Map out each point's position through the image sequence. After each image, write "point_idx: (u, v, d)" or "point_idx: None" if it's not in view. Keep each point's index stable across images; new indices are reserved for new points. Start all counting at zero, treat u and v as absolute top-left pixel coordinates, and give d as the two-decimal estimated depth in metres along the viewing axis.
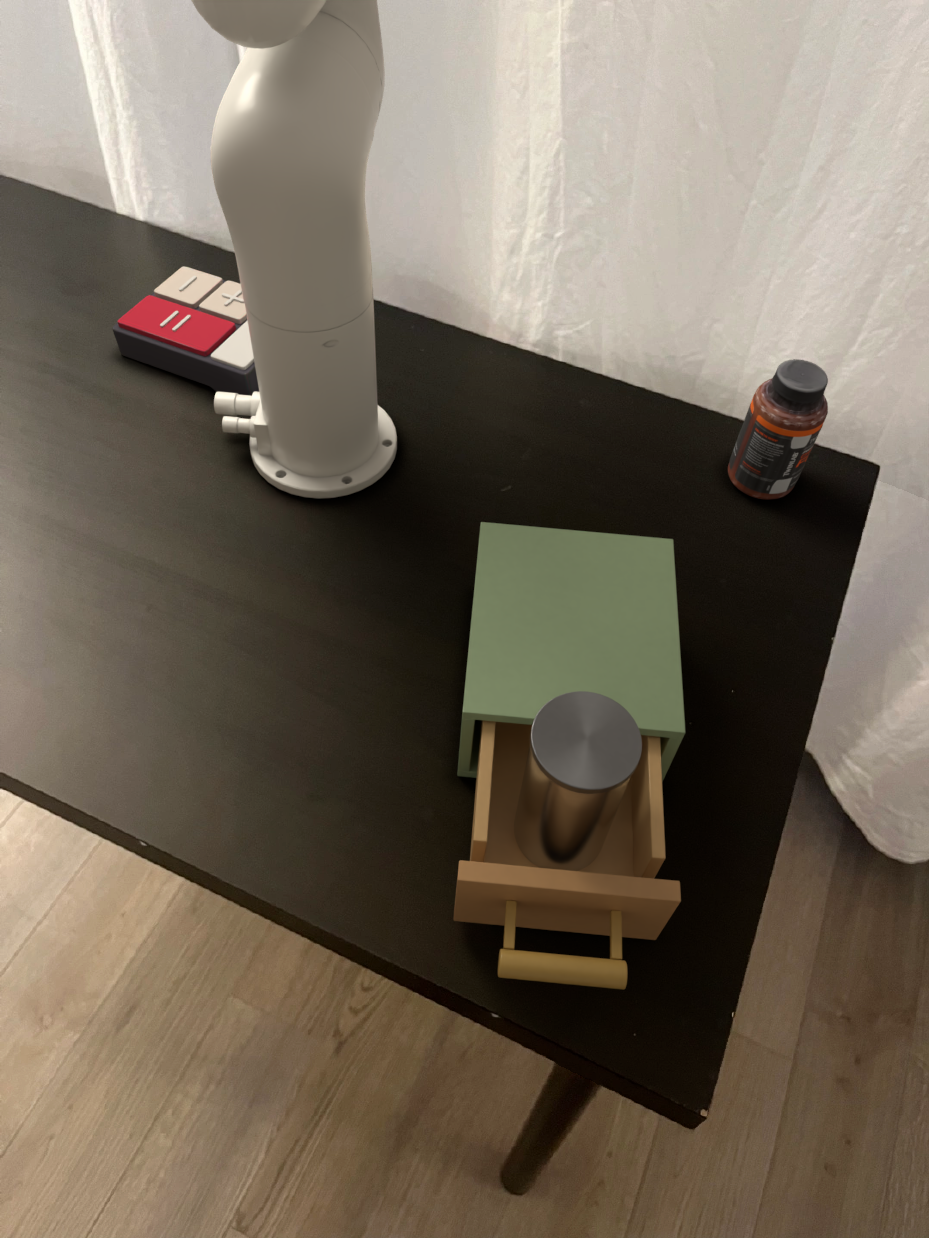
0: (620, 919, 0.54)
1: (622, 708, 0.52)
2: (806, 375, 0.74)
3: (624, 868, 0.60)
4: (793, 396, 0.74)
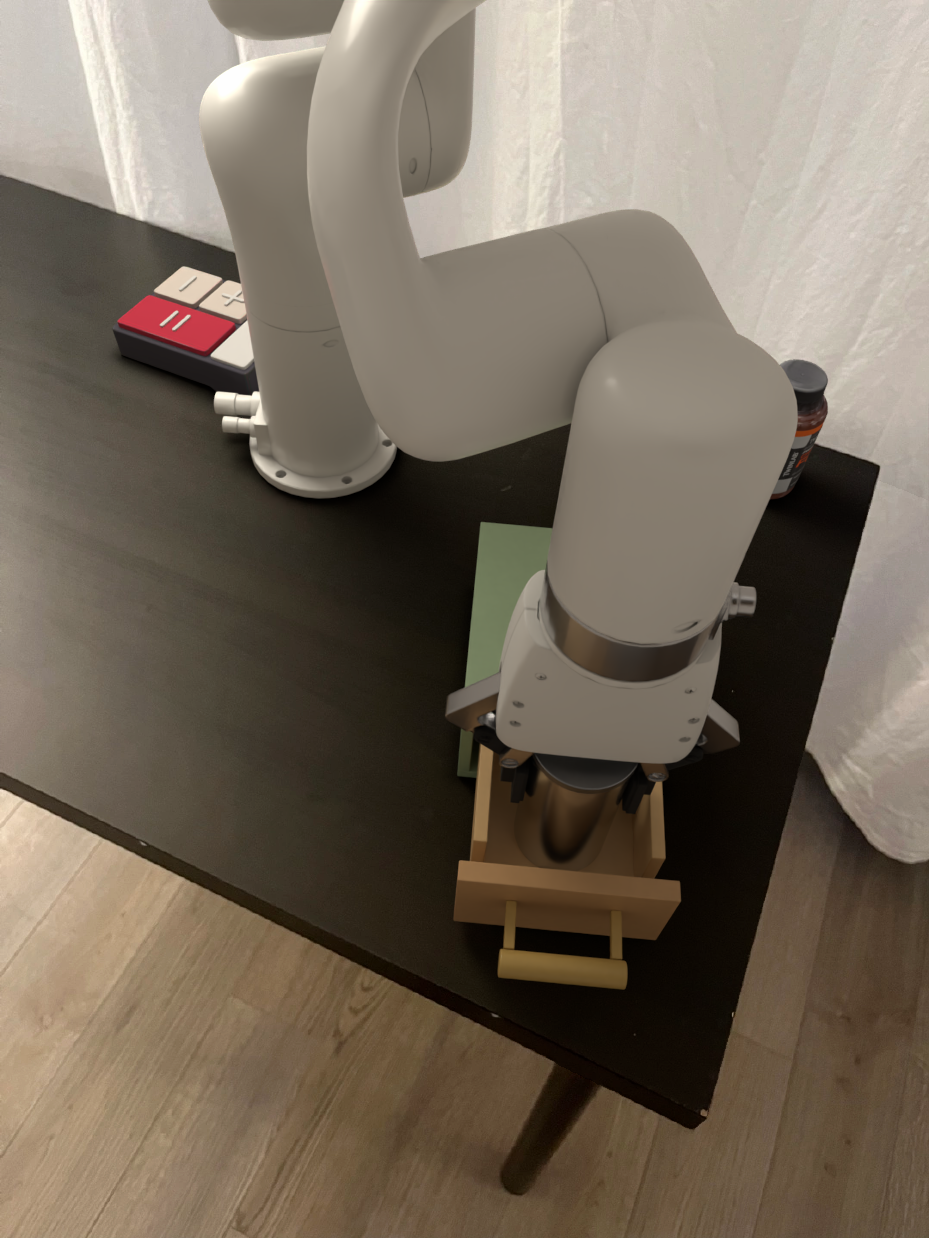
0: (620, 919, 0.54)
1: None
2: (806, 375, 0.74)
3: (624, 868, 0.60)
4: None
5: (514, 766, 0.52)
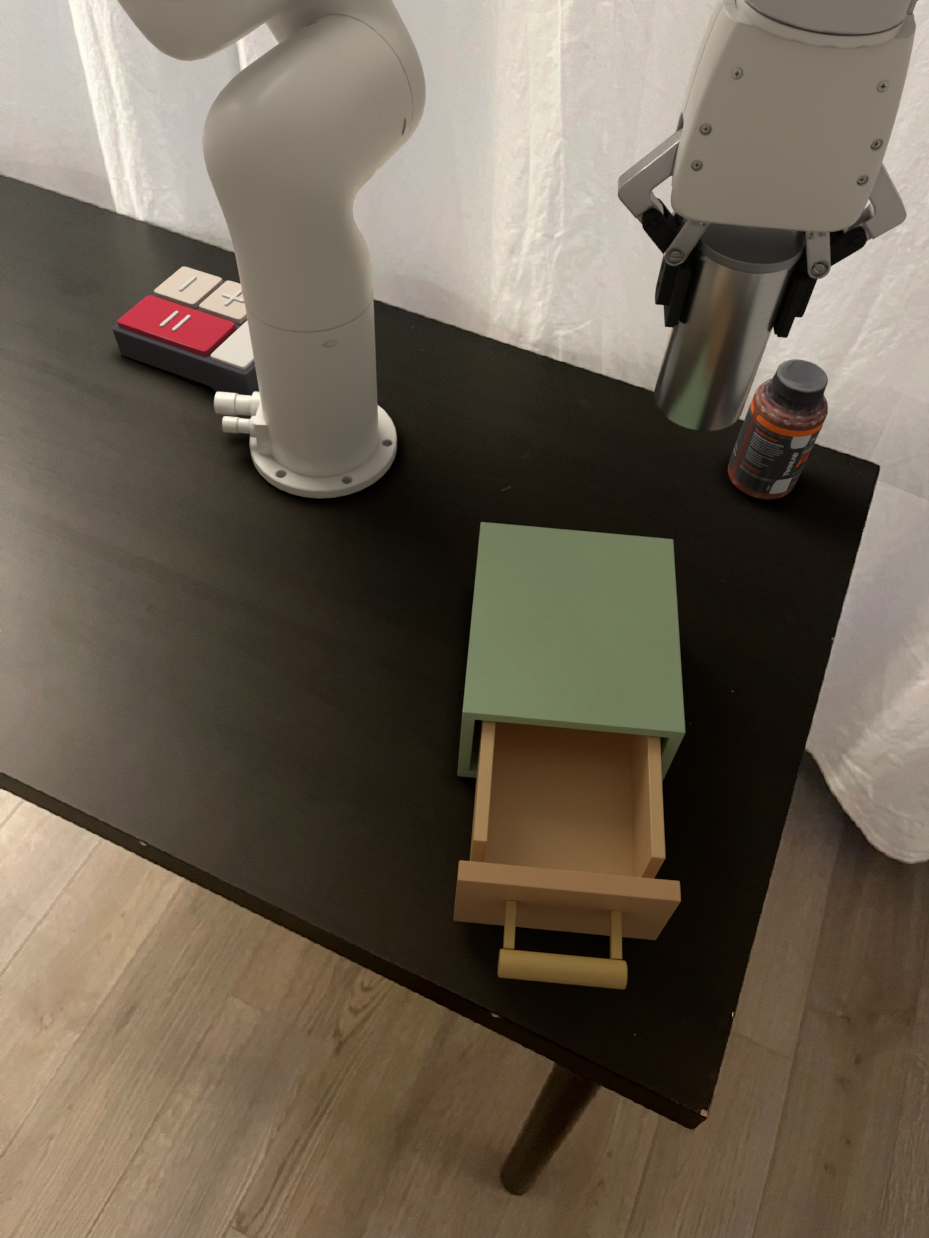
0: (620, 919, 0.54)
1: None
2: (806, 375, 0.74)
3: (624, 868, 0.60)
4: (793, 396, 0.74)
5: (678, 263, 0.53)
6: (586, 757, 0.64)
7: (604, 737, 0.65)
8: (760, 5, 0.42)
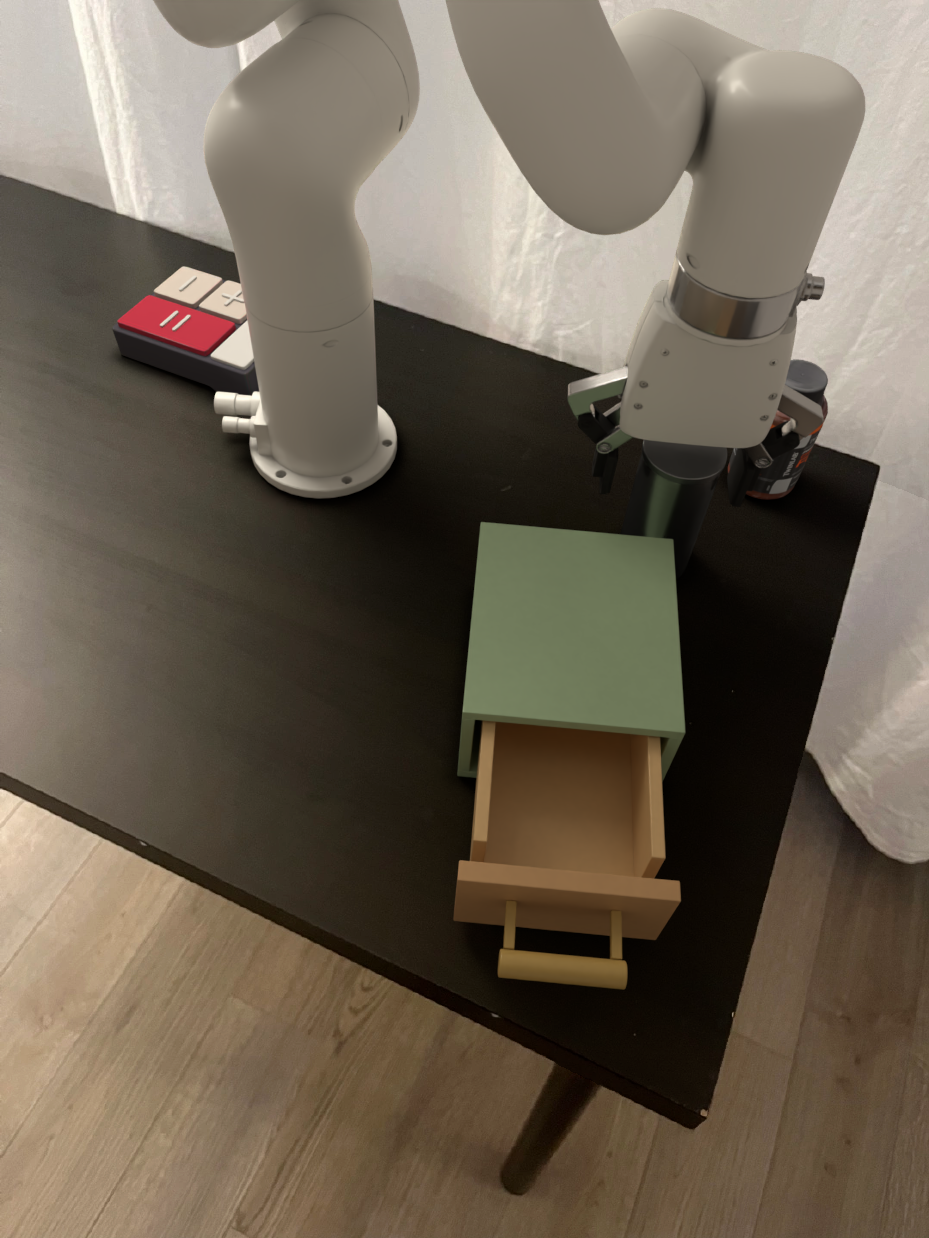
0: (620, 919, 0.54)
1: None
2: (806, 375, 0.74)
3: (624, 868, 0.60)
4: None
5: (607, 452, 0.67)
6: (586, 757, 0.64)
7: (604, 737, 0.65)
8: (679, 312, 0.56)
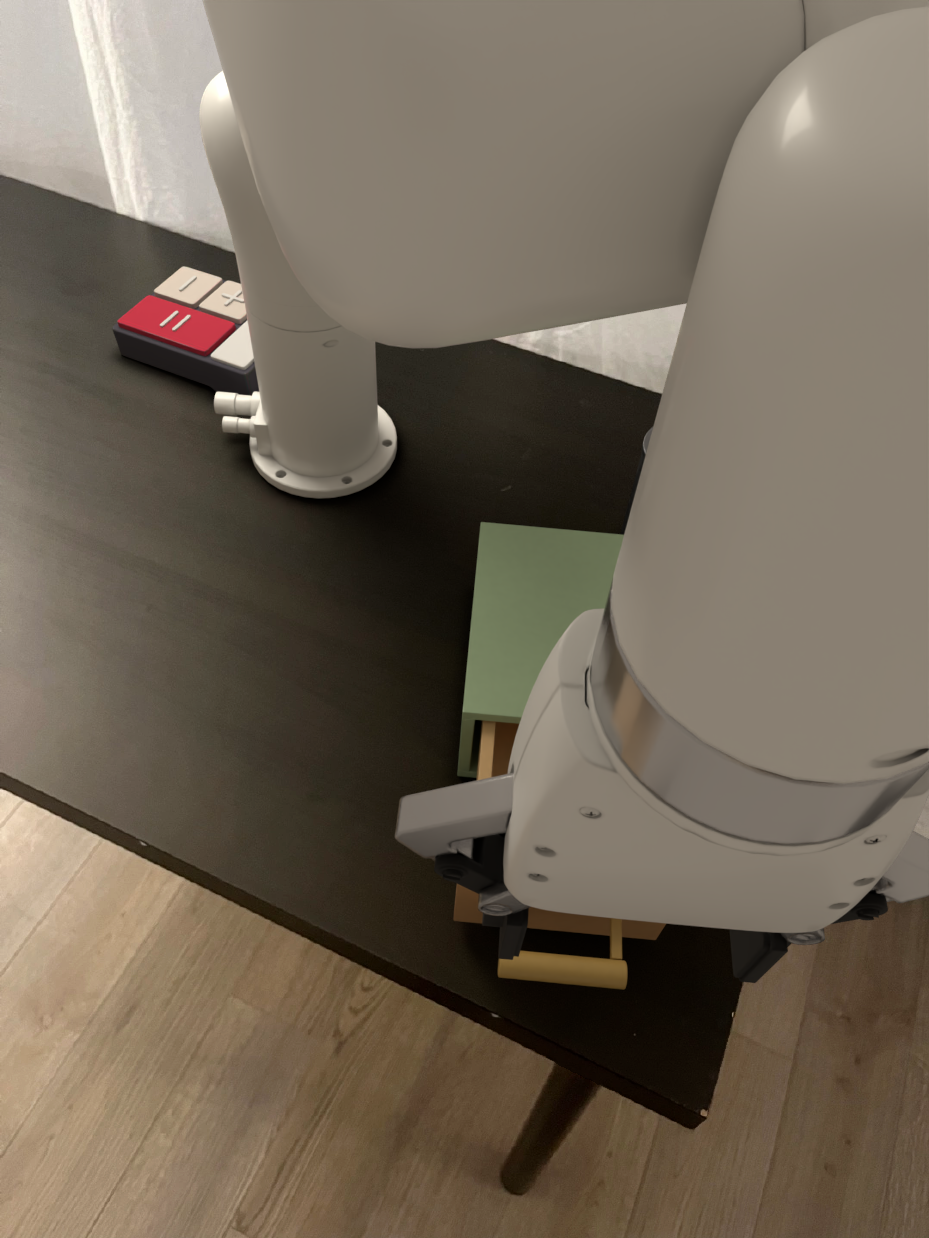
0: (620, 919, 0.54)
1: None
2: None
3: None
4: None
5: (504, 913, 0.31)
6: None
7: None
8: (622, 752, 0.20)
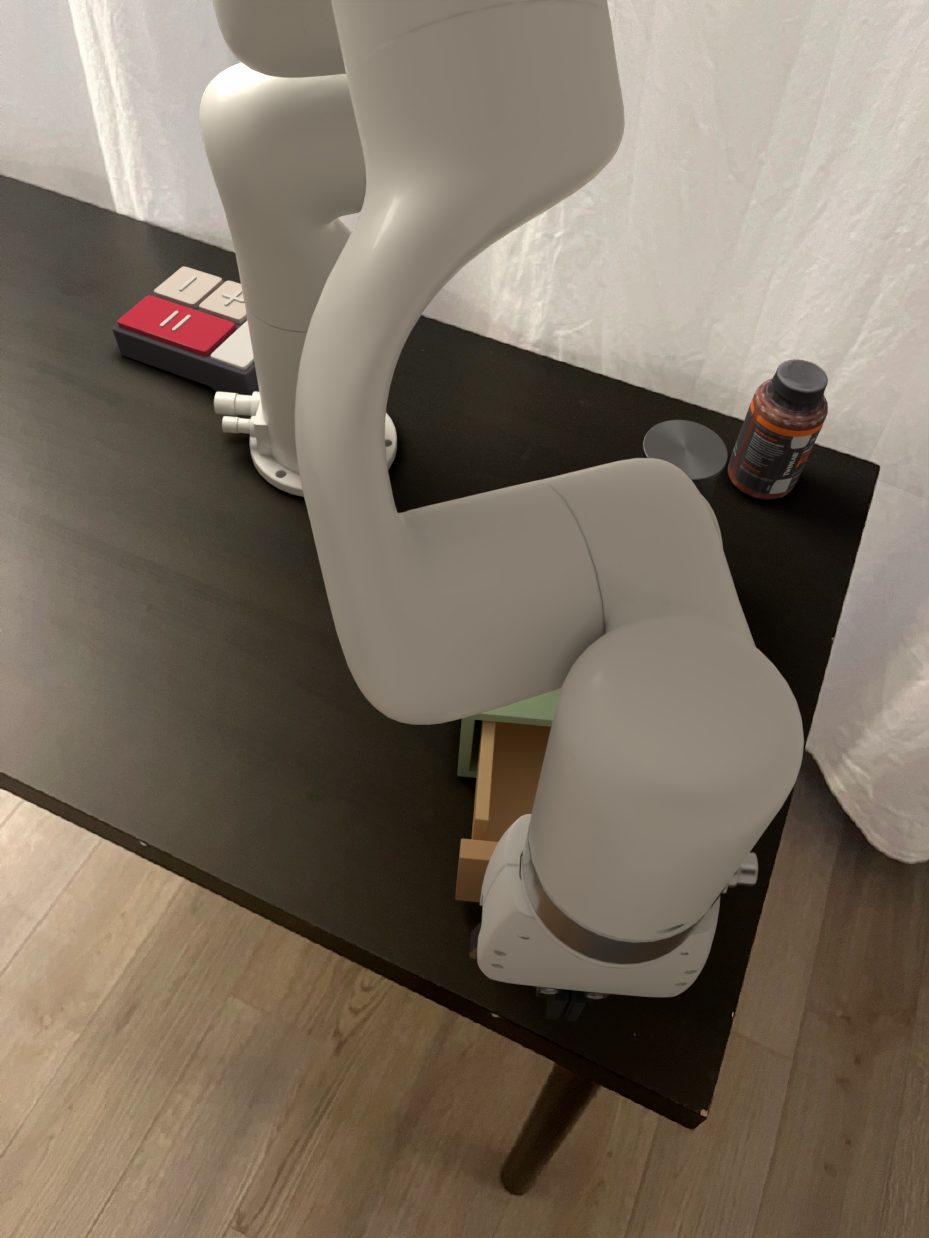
0: None
1: (710, 431, 0.69)
2: (806, 375, 0.74)
3: None
4: (793, 396, 0.74)
5: (553, 992, 0.48)
6: None
7: None
8: (537, 910, 0.37)
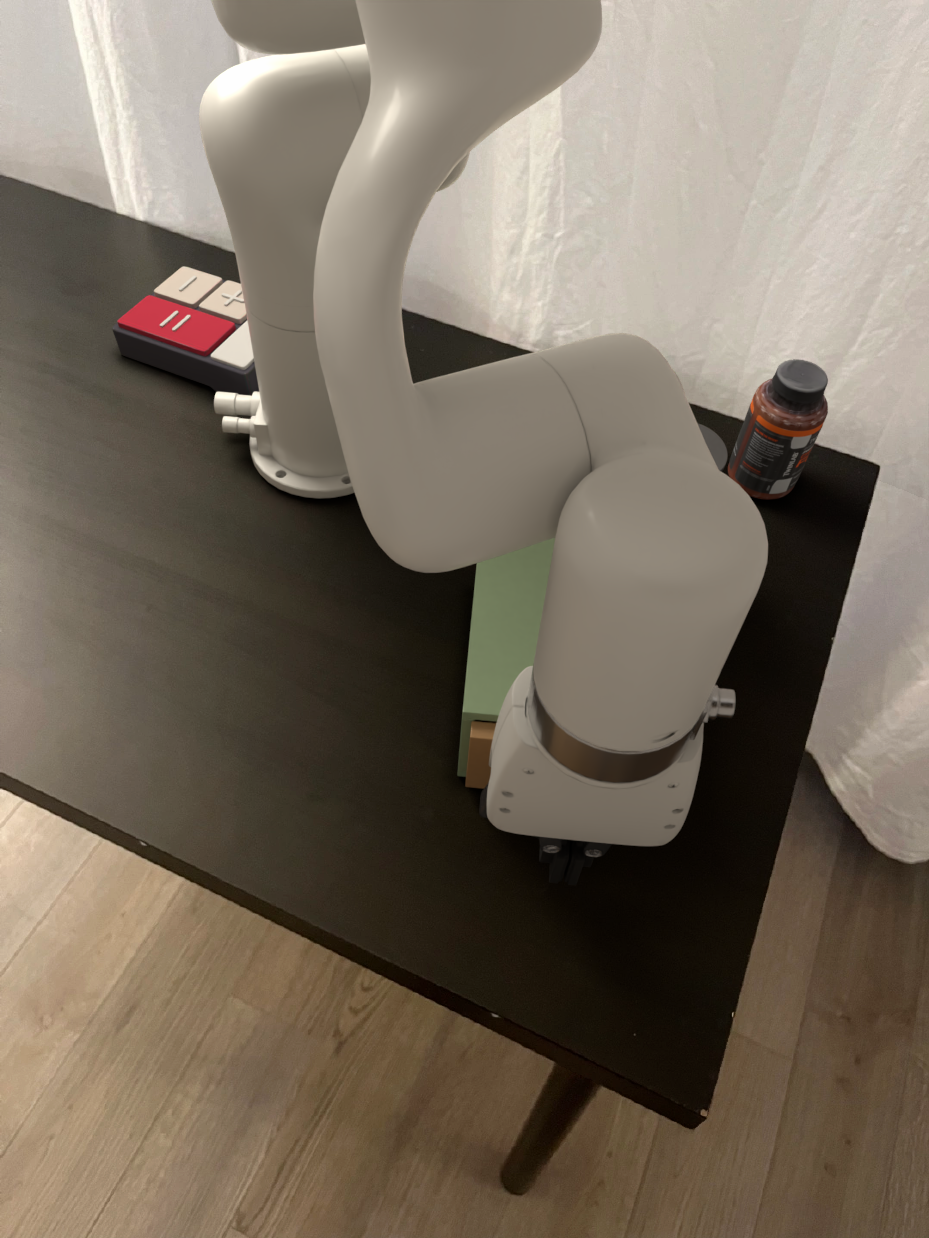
0: None
1: (710, 431, 0.69)
2: (806, 375, 0.74)
3: None
4: (793, 396, 0.74)
5: (555, 851, 0.53)
6: None
7: None
8: (540, 739, 0.42)
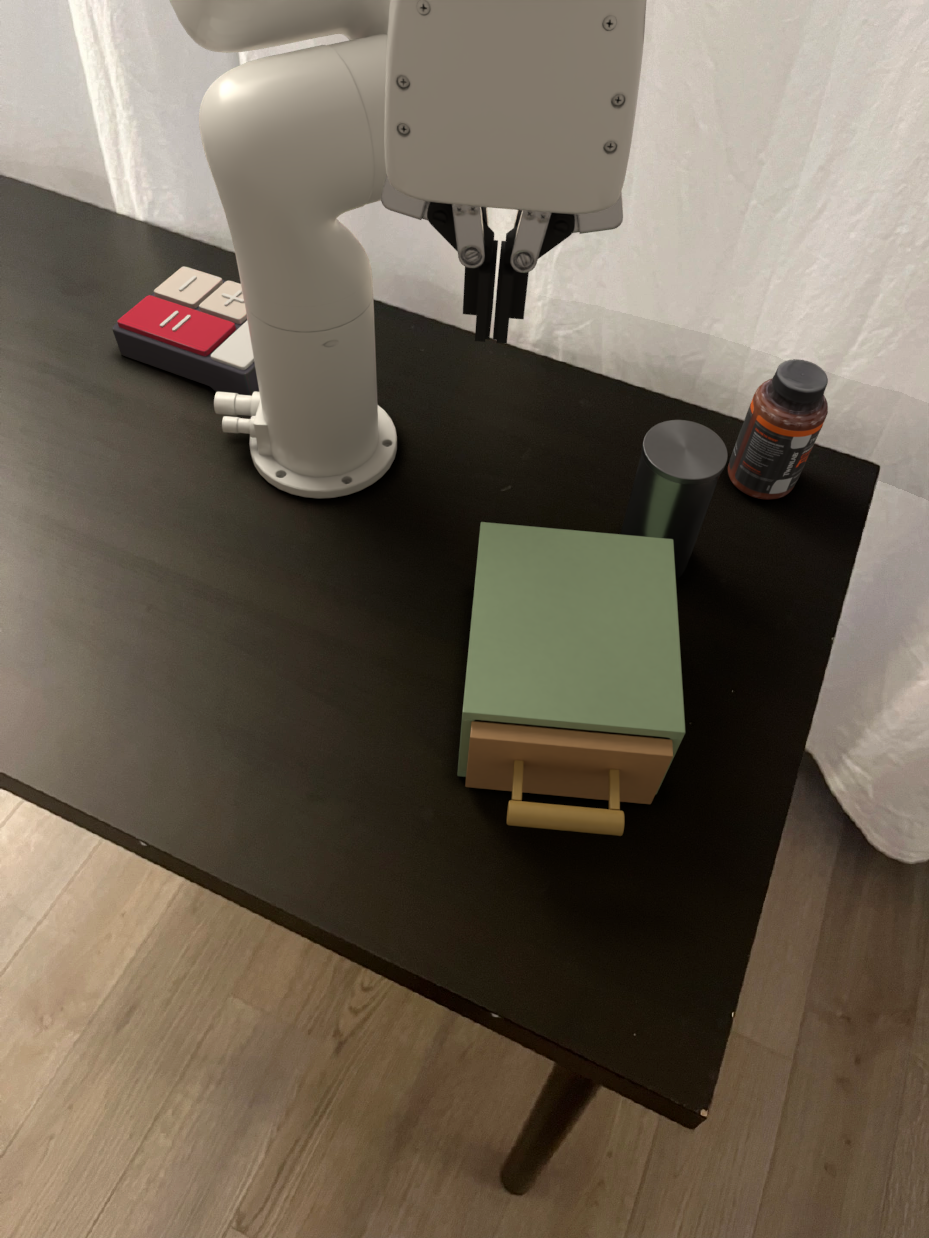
0: (618, 776, 0.59)
1: (710, 431, 0.69)
2: (806, 375, 0.74)
3: None
4: (793, 396, 0.74)
5: (477, 265, 0.43)
6: None
7: None
8: None
